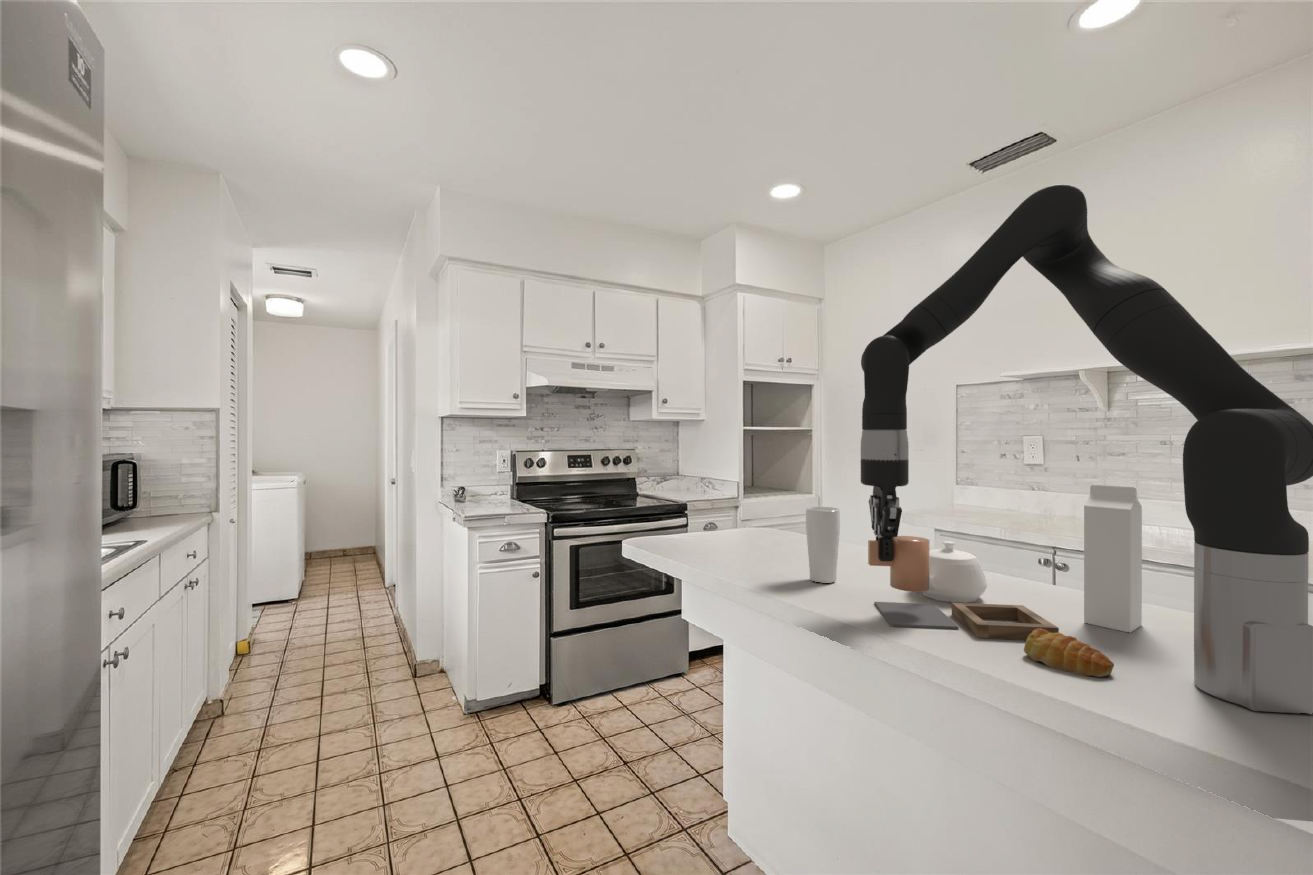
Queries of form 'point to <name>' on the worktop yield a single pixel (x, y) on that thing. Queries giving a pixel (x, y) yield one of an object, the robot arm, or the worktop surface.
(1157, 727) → the worktop surface
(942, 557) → the teapot
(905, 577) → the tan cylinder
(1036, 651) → the pastry
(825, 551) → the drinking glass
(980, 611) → the wooden tray
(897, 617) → the mat
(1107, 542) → the milk
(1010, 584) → the worktop surface
